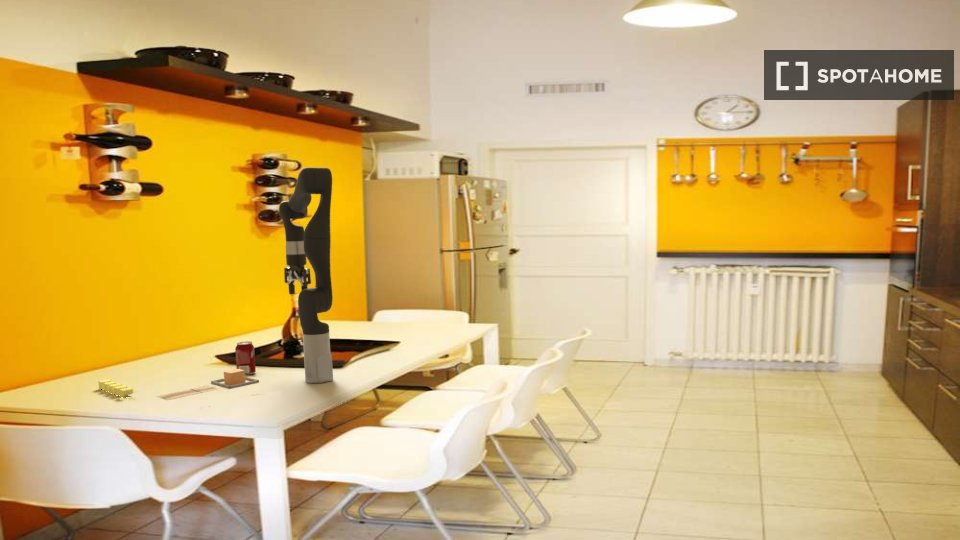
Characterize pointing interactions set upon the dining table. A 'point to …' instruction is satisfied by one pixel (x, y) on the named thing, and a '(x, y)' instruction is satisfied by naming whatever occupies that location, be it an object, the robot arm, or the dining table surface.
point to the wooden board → (187, 392)
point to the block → (234, 376)
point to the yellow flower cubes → (115, 388)
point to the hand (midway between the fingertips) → (298, 294)
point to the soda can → (245, 357)
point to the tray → (236, 384)
